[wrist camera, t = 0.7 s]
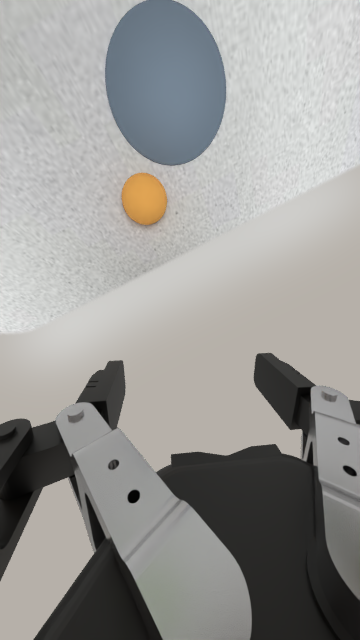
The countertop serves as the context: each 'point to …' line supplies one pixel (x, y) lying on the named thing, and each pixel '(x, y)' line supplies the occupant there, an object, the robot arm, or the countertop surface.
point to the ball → (144, 198)
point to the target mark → (165, 81)
